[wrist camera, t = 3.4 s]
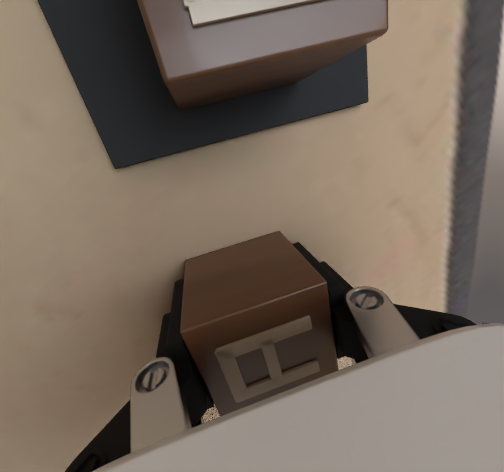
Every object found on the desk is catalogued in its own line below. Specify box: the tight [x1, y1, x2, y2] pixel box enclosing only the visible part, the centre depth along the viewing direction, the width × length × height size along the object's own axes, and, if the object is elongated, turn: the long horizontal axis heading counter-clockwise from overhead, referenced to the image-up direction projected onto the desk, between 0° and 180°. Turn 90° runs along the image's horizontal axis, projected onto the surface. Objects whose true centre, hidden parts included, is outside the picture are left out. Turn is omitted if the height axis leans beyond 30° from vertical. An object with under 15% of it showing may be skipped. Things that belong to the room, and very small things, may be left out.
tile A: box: [180, 231, 338, 417], centre depth 10 cm, size 4×4×5 cm
